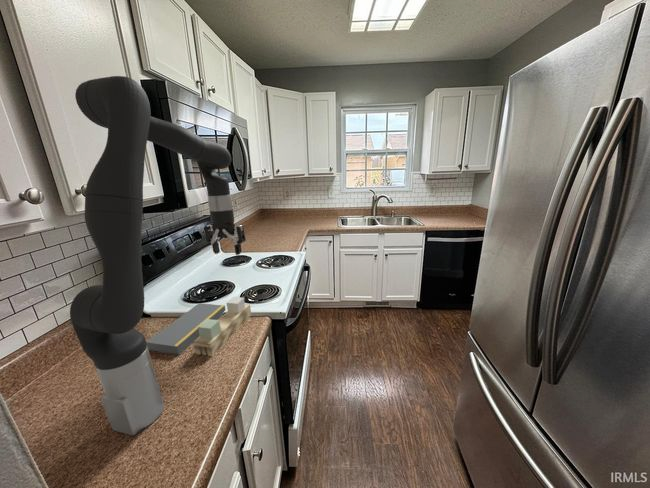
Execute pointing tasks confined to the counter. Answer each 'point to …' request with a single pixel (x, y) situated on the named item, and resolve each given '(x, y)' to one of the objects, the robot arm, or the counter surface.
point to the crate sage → (209, 329)
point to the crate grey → (235, 305)
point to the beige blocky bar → (222, 332)
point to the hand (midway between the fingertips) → (227, 253)
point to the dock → (184, 329)
